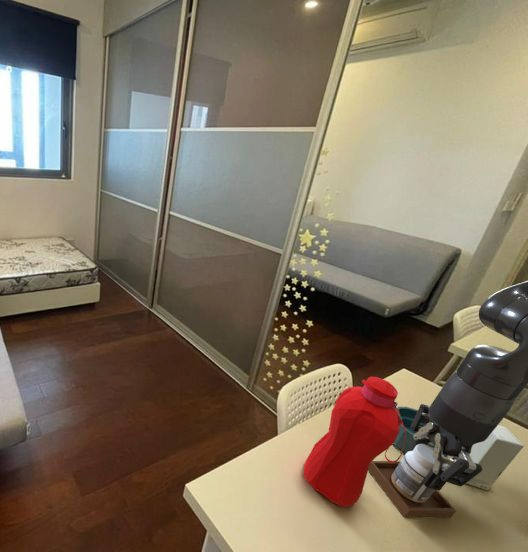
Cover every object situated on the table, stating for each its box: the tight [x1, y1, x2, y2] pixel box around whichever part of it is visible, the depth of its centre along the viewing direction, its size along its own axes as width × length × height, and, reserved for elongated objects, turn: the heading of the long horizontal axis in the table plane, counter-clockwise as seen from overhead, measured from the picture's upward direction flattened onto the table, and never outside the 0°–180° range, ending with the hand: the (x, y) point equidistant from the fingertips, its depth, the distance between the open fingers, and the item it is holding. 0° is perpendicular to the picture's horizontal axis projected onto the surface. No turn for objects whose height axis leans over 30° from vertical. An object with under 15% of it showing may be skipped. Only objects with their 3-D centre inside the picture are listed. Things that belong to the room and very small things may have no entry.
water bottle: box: [303, 376, 406, 508], centre depth 57 cm, size 9×11×25 cm
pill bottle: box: [391, 444, 448, 503], centre depth 60 cm, size 6×6×10 cm
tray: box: [368, 460, 457, 519], centre depth 62 cm, size 10×10×2 cm
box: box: [466, 424, 525, 491], centre depth 65 cm, size 5×4×13 cm
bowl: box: [393, 406, 450, 458], centre depth 73 cm, size 11×11×6 cm
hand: (421, 470), depth 60 cm, fingers closed on pill bottle, 5 cm apart
